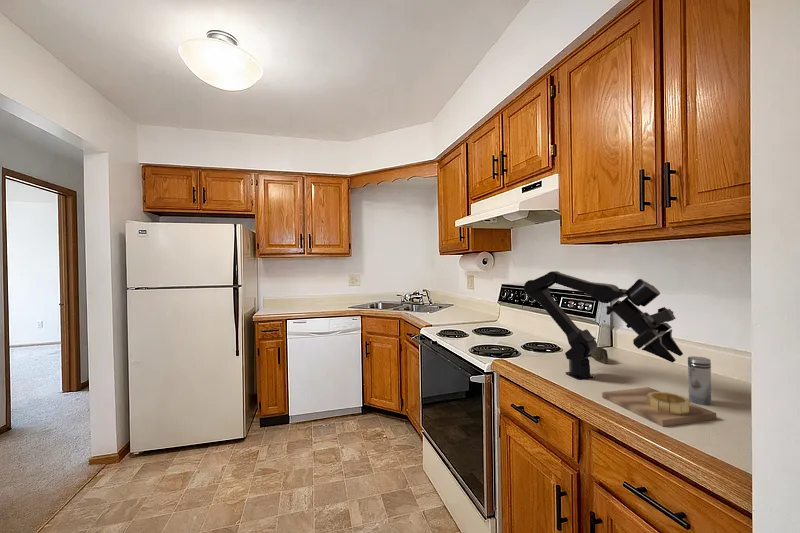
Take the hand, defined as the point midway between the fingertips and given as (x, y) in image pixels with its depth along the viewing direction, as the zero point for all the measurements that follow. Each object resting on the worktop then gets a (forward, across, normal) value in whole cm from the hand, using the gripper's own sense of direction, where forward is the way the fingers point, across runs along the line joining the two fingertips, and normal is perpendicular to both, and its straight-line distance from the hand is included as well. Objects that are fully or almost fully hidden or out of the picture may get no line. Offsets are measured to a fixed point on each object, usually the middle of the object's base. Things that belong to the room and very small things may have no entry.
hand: (678, 358), depth 102 cm
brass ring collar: (+7, -15, +6) cm, 18 cm away
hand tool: (-16, +30, +32) cm, 46 cm away
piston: (+11, 0, +5) cm, 12 cm away
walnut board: (+6, -13, +10) cm, 17 cm away
